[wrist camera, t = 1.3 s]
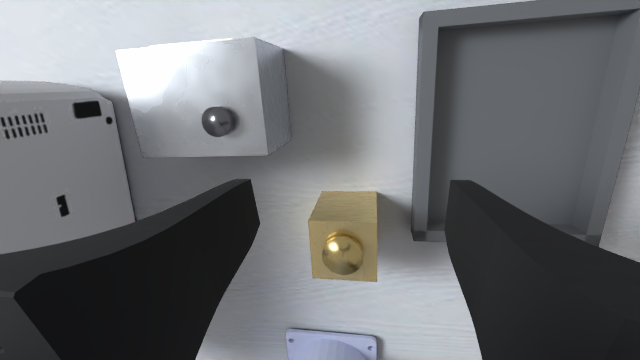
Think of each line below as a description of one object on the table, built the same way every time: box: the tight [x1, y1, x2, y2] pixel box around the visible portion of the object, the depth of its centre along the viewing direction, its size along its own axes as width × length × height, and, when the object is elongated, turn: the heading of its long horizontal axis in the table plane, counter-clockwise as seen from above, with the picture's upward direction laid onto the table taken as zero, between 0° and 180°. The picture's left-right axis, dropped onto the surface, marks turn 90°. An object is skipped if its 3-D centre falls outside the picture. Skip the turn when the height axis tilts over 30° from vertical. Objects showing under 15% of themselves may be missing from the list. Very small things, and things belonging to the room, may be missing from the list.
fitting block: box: [308, 191, 377, 282], centre depth 20 cm, size 4×4×6 cm
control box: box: [116, 37, 291, 158], centre depth 18 cm, size 6×8×6 cm
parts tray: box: [411, 0, 640, 247], centre depth 18 cm, size 14×11×2 cm
